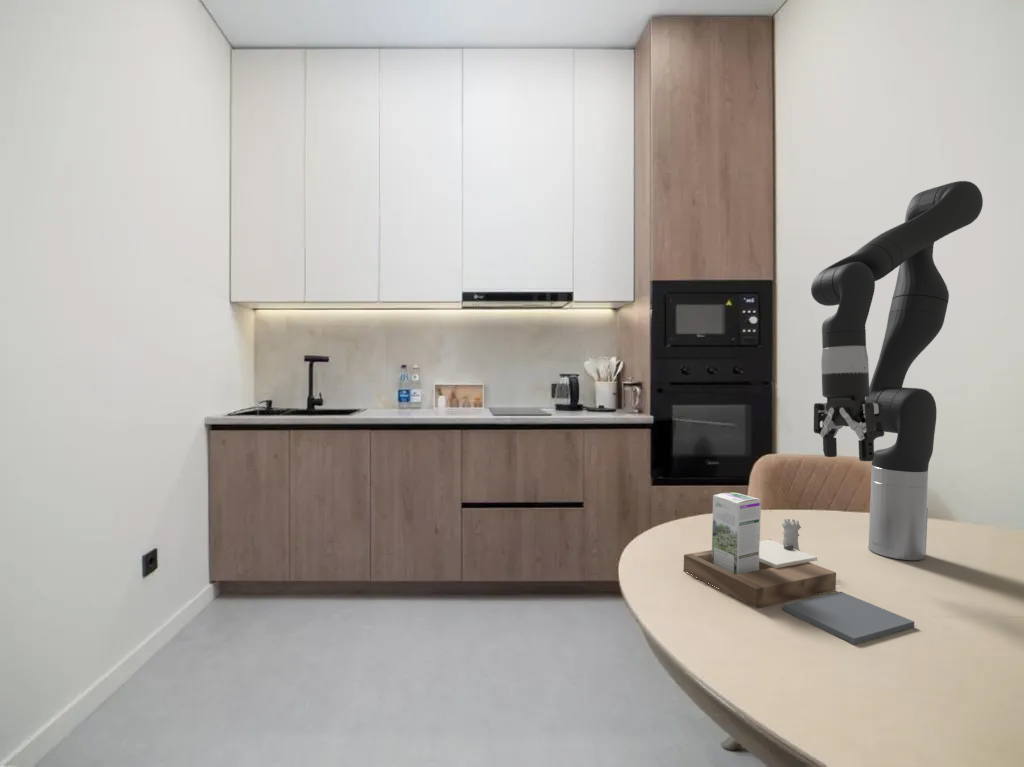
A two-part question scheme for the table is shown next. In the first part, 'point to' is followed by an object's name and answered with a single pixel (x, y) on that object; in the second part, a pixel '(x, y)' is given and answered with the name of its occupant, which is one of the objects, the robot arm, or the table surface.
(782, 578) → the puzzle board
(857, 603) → the rubber mat
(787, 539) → the rook chess piece
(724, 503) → the syrup box
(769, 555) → the sliding lid
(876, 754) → the table surface
